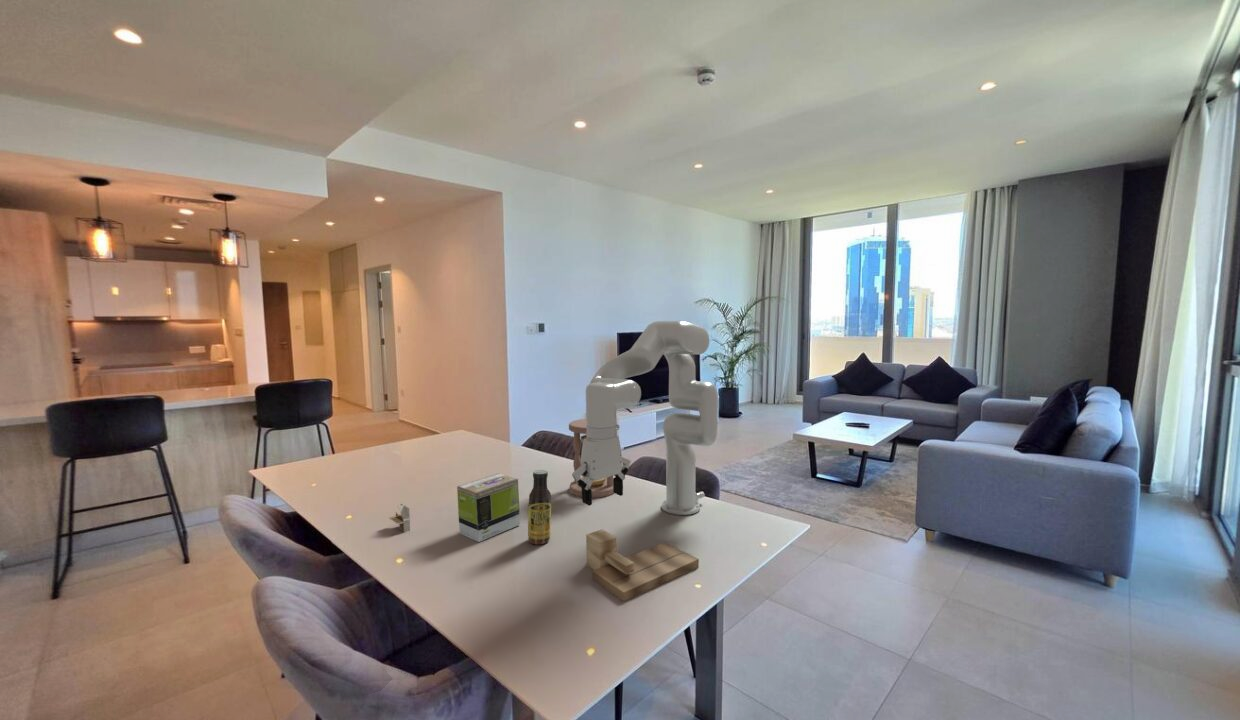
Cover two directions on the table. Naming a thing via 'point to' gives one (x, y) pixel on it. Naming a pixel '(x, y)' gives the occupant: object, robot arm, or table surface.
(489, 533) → the tea box
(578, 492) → the hourglass
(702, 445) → the robot arm
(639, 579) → the board
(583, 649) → the table surface
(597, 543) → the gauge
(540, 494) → the sauce bottle
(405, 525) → the architectural model
